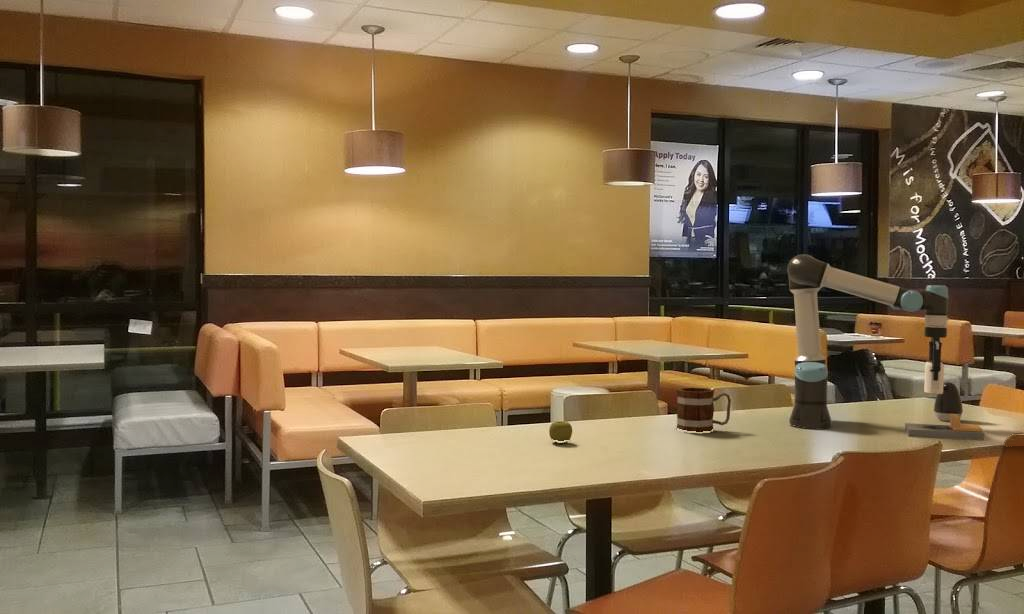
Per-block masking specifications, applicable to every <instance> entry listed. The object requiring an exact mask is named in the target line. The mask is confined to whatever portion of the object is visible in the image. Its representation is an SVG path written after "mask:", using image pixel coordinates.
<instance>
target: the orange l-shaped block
mask: <svg viewBox="0 0 1024 614" xmlns="http://www.w3.org/2000/svg"><path fill="white" fill-rule="evenodd" d="M949 425H950V427H951V428H952V429H953V430H959V431H979V432H982V431H983V428H982V427H981V426H980V425H979V424H972V423H970V424H969V423H961V417H959V416H958V415H957V414H950V422H949Z"/></svg>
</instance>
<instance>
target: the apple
mask: <svg viewBox="0 0 1024 614" xmlns="http://www.w3.org/2000/svg"><path fill="white" fill-rule="evenodd" d="M572 427H573V426H572V425H571V423H569V422H567V421H554V422H552V423H551V424H550V426H549V430H548V433H549V437H550V440H552V439H553V440H558V441H564V440H569V441H570V440H571V437H572V435H573V428H572Z"/></svg>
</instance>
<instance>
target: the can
mask: <svg viewBox="0 0 1024 614" xmlns="http://www.w3.org/2000/svg"><path fill="white" fill-rule="evenodd" d="M943 363H944V362H943V361H941V367H940V368H941V370H940V376H939V390H938V389H931V372H930V370H932V361H929V360H926V363H925V364H924V379H923V380H924V383H923V384H924V386H923V389H924V390H923V392H924V394H928V395H937V394H942V393H943V383H945V382H944V380H945V379H944V377H945V373H944V372H945V365H944V364H943Z"/></svg>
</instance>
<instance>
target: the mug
mask: <svg viewBox="0 0 1024 614" xmlns="http://www.w3.org/2000/svg"><path fill="white" fill-rule="evenodd" d="M714 394H715V390H714V389H710V388H707V387H706V388H705V387H680V388H678V389H676V395H677V405H676V419H677V421H676V429H677V428H679V429H682V430H687V431H696V432H703V431H711V430H712V429H713V430H714V424H716V425H720V426H724V425H727V424H728V422H729V420H730V417H731V415H730V414H731V403H732V402H731V401H732V400H731V398H730V395H729V394H728V393H726V392H722V393H719V394H718V395H717V396H716V397H714ZM723 396H725V397H726V399H727V404H726V418H725V420H724V421H719V420H715V419H714V413H715V412H714V411H715V409H714V407H715V406H714V402H717V401H718V400H719V399H721V397H723Z"/></svg>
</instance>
